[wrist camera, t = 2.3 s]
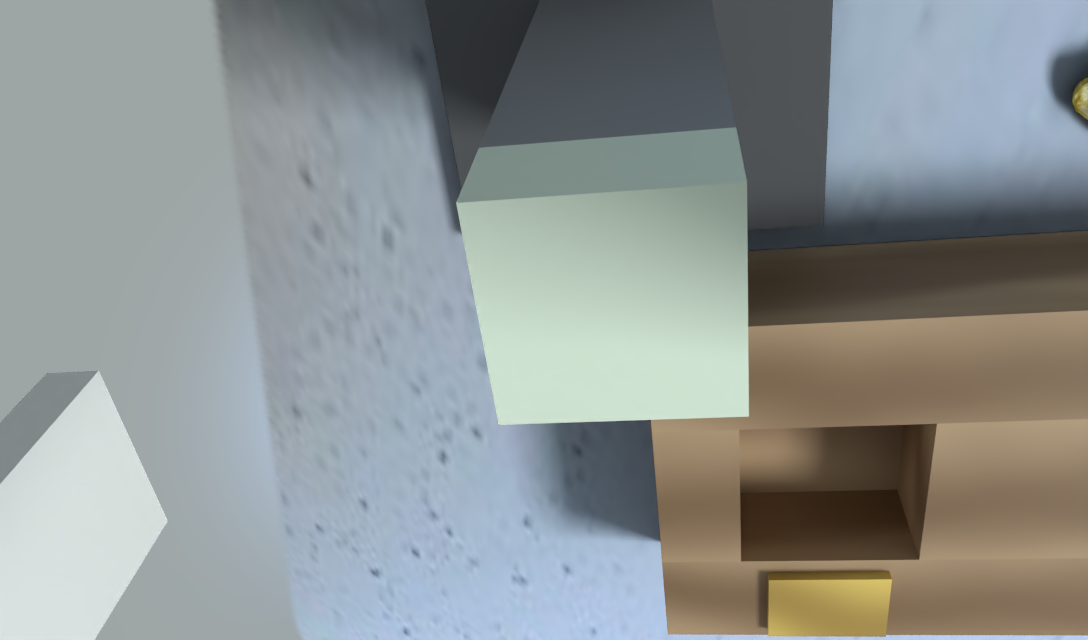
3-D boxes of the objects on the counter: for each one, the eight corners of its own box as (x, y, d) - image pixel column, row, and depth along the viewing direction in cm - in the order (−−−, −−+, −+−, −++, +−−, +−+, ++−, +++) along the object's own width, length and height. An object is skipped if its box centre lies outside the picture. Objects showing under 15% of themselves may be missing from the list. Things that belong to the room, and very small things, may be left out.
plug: (543, -8, 23) (456, 203, 13) (706, -25, 22) (747, 182, 12) (561, 143, 25) (498, 424, 15) (710, 131, 24) (748, 416, 14)
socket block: (645, 257, 27) (643, 338, 24) (1405, 211, 24) (1535, 296, 21) (666, 544, 34) (668, 641, 30) (1271, 536, 31) (1353, 644, 27)
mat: (407, -129, 22) (402, -125, 22) (835, -184, 21) (840, -181, 20) (475, 238, 28) (472, 247, 27) (820, 215, 26) (823, 225, 26)
